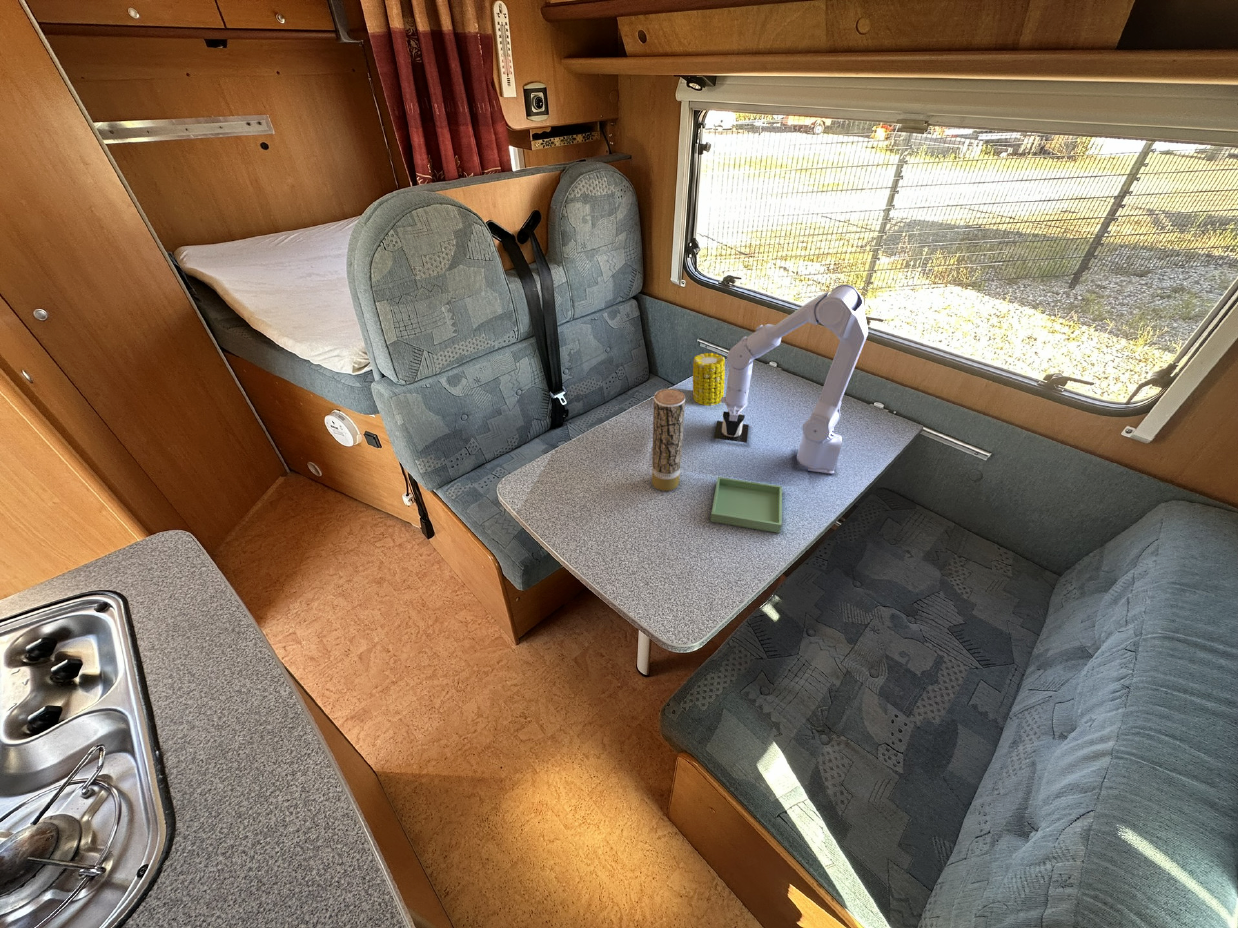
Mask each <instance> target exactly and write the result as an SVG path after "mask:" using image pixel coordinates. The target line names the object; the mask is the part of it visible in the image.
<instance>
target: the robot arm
mask: <svg viewBox="0 0 1238 928" xmlns="http://www.w3.org/2000/svg"><path fill="white" fill-rule="evenodd" d="M864 304H865V299H864V297H863V296H862V294H861V293H860V292H859V291H858V289H857V288H856V287H854V286H853V285H851V284H848V283H847V284H846V283H844V284H839V285H837V286H835V287H834V288H833V289H832V290H831V292H830V291H829V290H827V291H826V292H824V293H821V294H820V295H818V296H817V297H815V298H813V299H811V300H809V301H808V302H807V303H805V304H804V305H802V306H800V308H798V309H796V310H795V311H794V312H792V313H791V314H789V315H788V316H787V317H784V318H783V319H782V320H781V321H779V322H778V323H776V324H771V323H767V324H765V325H763V324H760V325H758V326H757V327H756V328H755V331H754V332H753V333H751V334H750V335H748V336H747V335H745V336H743V337H742V338H741V339H740V341H738V342H737V343H736V344H735V345H734V346H732V347H731V348H730V349H729V351H728V353H727V356H726V358H727V362H728V364H729V368H728V376H727V384H726V392H725V396H723V397H721V403H720V404H724V405H725V407H726V409H727V411H723V413H722V420H723V419H724V420H725V423H726V431H727V435H731V436H735V434H736V432H737V429H738V427H739V425H740V424H741V422H742V421H743V422H744V420H745V418H746V415H745V414H742V412H743V411H744V409H745V408H746V407H747V405H748V403H749V401H748V399H749V392H750V386H751V380H752V374H753V366H754V360H756V359H758V358H760V357H762V356H764V355H766V354H767V353H768V352H771V351H772V350H774V349H775V348H777V347H778V346H780V345H781V342H782V337H785V336H787V335H788V334H790V333H791V332H794V331H795V330H797V329H798V328H800V327H802V326H803V325H805V324H808V323H809V324H812V325H815V326H818V324H821V325H822V326H823V327H825V328H826V329H827V330H829V331H830V332H831V333H833V335H835V336H836V337H837V339H838V340H839V343H838V345H837V348H836V351H835V354H834V357H833V359H832V362H831V365H830V367H829V370H828V373H827V375H826V378H825V381H824V384H823V387H822V390H821V392H820V395H819V398H818V400H817V403H816V404H815V407H814V408H813V410H812V412H811V414H810V416H809V417H808V419H806V421H804V423H803V425H802V435H801V439H800V443H799V447H798V450H797V454H796V461H798V463H799V464H801V465H802V466H804V467H806V468H807V471H809V472H814V473H815V472H816V473H821V474H822V473H823V474H830V475H834V474H835V469H836V466H837V463H838V460H839V457H840V454H841V450H842V444H843V439H842V438H843V437H842V435H841V434H837V433H835V430H834V428H835V426H836V425H837V423H838V422H839V421H840V419H841V406H842V400H843V397H844V395H845V392H846V390H847V387H848V385H849V382H850V380H851V377H852V375H853V373H854V370H855V368H856V365H857V363H858V360H859V358H860V355H861V353H862V351H863V347H864V345H865V343H866V340H867V337H868V335H869V327H868V323H867V317H866V313H865V308H864V307H865V305H864ZM739 413H741V414H742V415H739Z"/></svg>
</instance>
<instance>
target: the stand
mask: <svg viewBox="0 0 1238 928" xmlns="http://www.w3.org/2000/svg"><path fill="white" fill-rule="evenodd" d="M722 424H723V420H716V424H715V430H714V435H713V439H715V440H721V441H729V442H730V441H731V442H737V443H745V444H747V443H748V438H749V437H748V436H749V429H750V424H747V423H743V426H742V432H741V434H740V435H739V436H737V437H729V436H726V435H724V434H723V433H722Z"/></svg>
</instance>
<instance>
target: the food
mask: <svg viewBox="0 0 1238 928" xmlns="http://www.w3.org/2000/svg"><path fill="white" fill-rule="evenodd" d="M692 360H693V363H692V368H693V369H692V398H693V401H694V402H695V403H697V404H699V405H703V406H707V407H708V406H717V405H718V404H722V403H721V397H724V395H725V392H724V391H725V383H726V381H725V379H726V378H725V376H726V369H725V368H726V366H725V365H726V364H725V363H726V359H725V357H724V356H722V355H721V354H718V353H713V352H709V353H708V352H705V353H700V354H699V355H698V354H697V355H696V356H694V358H693V359H692Z"/></svg>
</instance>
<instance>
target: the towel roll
mask: <svg viewBox="0 0 1238 928" xmlns="http://www.w3.org/2000/svg"><path fill="white" fill-rule="evenodd" d="M739 415H743V413H742V412H741V413H739ZM722 421H723V424H722V433H723V434H724V435H726V436H729V437H737V436H739V435H740V434H741V432H742V426H743V424H744V420H743V421H742V422H741V424H740V425H739V427H738V429H737V432H736V434H735V436H731V435H727V431H726V423H725V420H724V419H723V418H722Z"/></svg>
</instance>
